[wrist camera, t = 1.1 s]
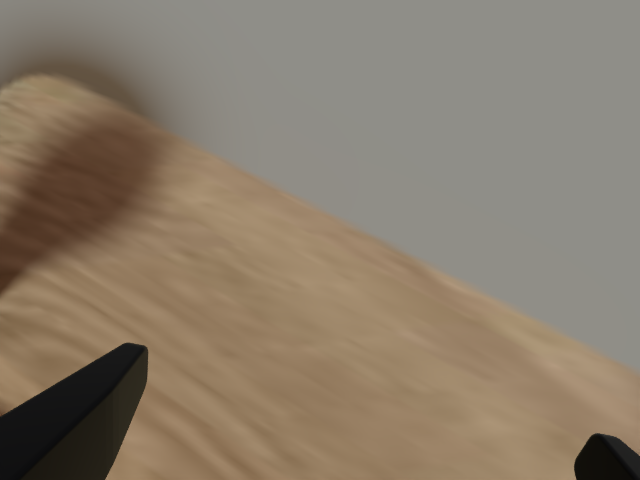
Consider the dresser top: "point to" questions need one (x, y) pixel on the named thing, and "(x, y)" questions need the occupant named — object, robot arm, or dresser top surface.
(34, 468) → the robot arm
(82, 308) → the dresser top surface
